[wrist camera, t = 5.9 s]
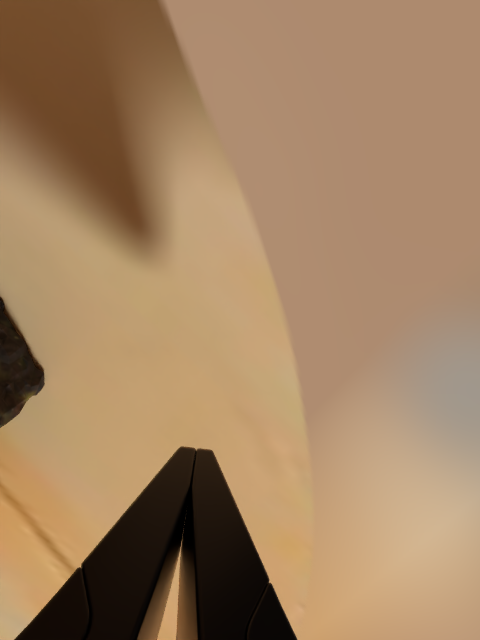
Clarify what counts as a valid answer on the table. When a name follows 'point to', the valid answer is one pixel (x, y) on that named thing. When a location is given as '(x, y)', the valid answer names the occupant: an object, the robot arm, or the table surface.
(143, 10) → the table surface
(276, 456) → the table surface
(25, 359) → the spotted yellow cube
